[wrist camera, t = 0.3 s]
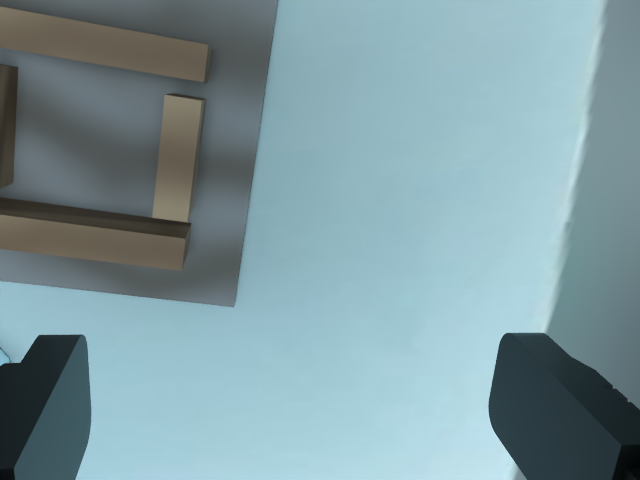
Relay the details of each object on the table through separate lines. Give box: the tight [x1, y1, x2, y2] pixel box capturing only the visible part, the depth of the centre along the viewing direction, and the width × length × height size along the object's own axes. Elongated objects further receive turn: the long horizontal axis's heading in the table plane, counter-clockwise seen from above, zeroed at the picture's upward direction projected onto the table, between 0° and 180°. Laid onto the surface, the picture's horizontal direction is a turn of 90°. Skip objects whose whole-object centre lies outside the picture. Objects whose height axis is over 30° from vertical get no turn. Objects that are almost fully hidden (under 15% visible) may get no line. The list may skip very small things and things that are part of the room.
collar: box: [0, 0, 278, 307], centre depth 34 cm, size 20×20×5 cm
